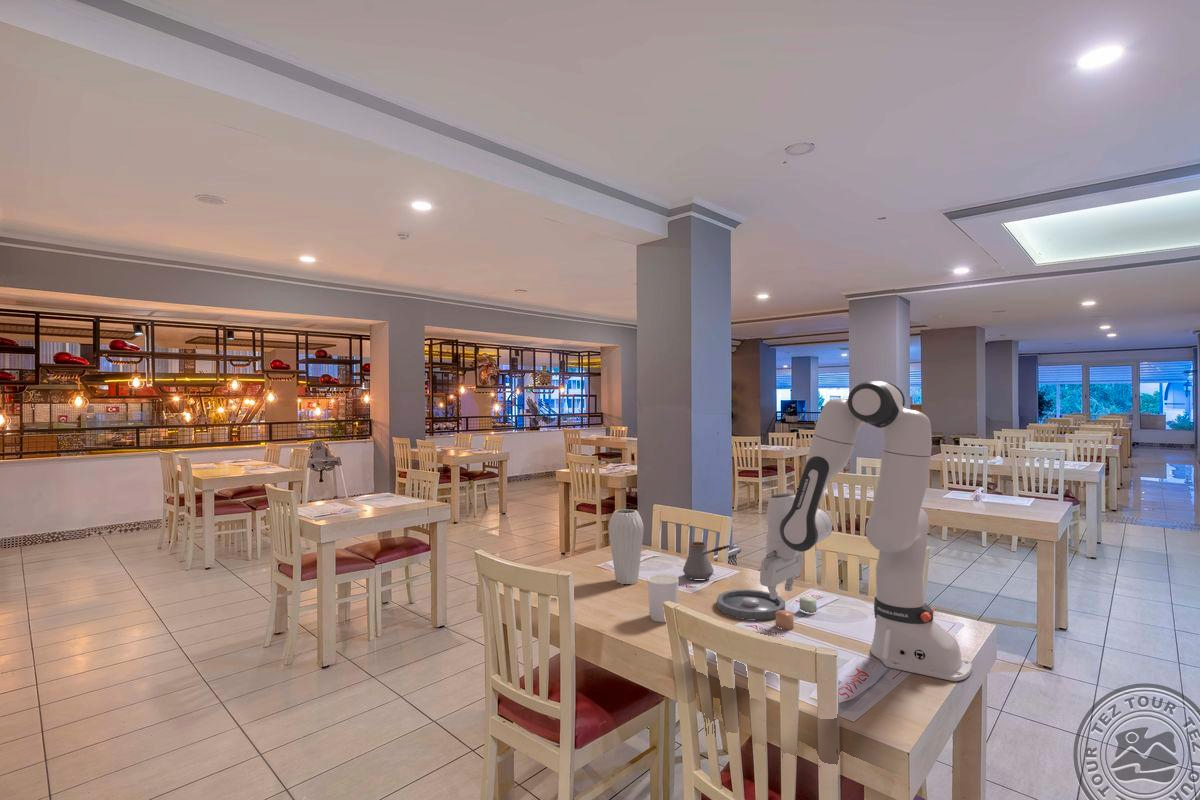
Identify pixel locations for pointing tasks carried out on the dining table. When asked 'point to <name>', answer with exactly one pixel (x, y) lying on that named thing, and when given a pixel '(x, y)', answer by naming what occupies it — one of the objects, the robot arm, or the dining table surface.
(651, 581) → the white paper cup
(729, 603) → the groove tray
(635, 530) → the vase
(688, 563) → the coffee pot
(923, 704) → the dining table surface
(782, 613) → the terracotta bead
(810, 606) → the sage bead
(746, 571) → the dining table surface
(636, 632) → the dining table surface
